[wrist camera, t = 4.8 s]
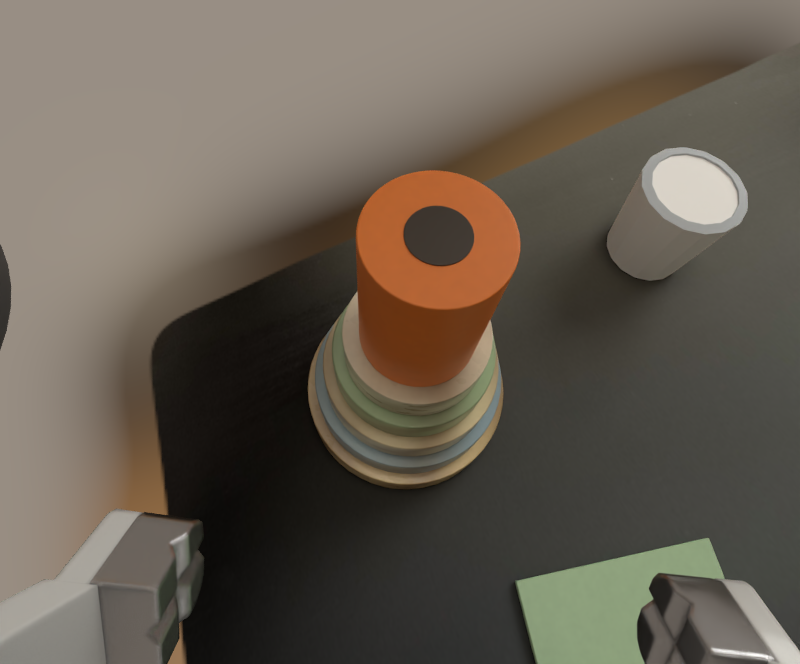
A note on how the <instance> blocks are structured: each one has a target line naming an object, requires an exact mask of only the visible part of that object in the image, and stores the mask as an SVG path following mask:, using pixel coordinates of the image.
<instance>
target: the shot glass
mask: <svg viewBox="0 0 800 664" xmlns="http://www.w3.org/2000/svg"><path fill="white" fill-rule="evenodd" d="M747 210H748V200H747V191H746V189H745V187H744V185H743V183H742V182H741V180H740V178H739V176H738V175H737V174H736V173H735V172H734V171H733V170H732V169H731V168H730V167H729V166H728V165H727V164H726V163H725V162H724V161H722V160H720V159H718V158H716V157H714V156H712V155H710V154H708V153H706V152H704V151H700V150H695V149H690V148H686V147H682V148H672V149H665V150H663V151H661V152H659V153H657V154H655V155H654V156H652V157H651V158H650V159H649V161H648V162H647V164H646V165H645V167H644V168H643V170H642V171H641V173H640V175H639V177H638V179H637V181H636V183H635V184H634V186H633V188H632V190H631V192H630V194H629V195H628V197H627V199H626V201H625V203H624V205H623V207H622V208H621V210H620V212H619V214H618V216H617V218H616V220H615V221H614V223H613V225H612V227H611V229H610V231H609V232H608V235H607V248H608V251H609V254H610V256H611V259H612V260H613V261H614V262H615V263H616V264H617V266H618V267H619V268H620V269H621V270H623V271H624V272H626V273H628V274H629V275H631V276H633V277H635V278H639V279H643V280H648V281H652V280H660V279H664V278H666V277H667V276H669V275H671V274H672V273H674V272H675V271H677V270H678V269H679V268H681V267H682V266H683V265H685V264H686V263H687V262H689V261H690V260H691V259H693V258H694V257H695V256H697V255H698V254H699V253H701V252H702V251H704V250H705V249H706V248H708V247H709V246H710V245H712V244H713V243H714V242H716V241H717V240H718V239H720V238H721V237H722V236H724V235H725V234H726V233H728V232H729V231H730V230H732V229H733V228H735V227H736V226H737V225H739V224H740V223H741V221H742V219H743V217H744V216H745V214H746V212H747Z"/></svg>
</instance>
